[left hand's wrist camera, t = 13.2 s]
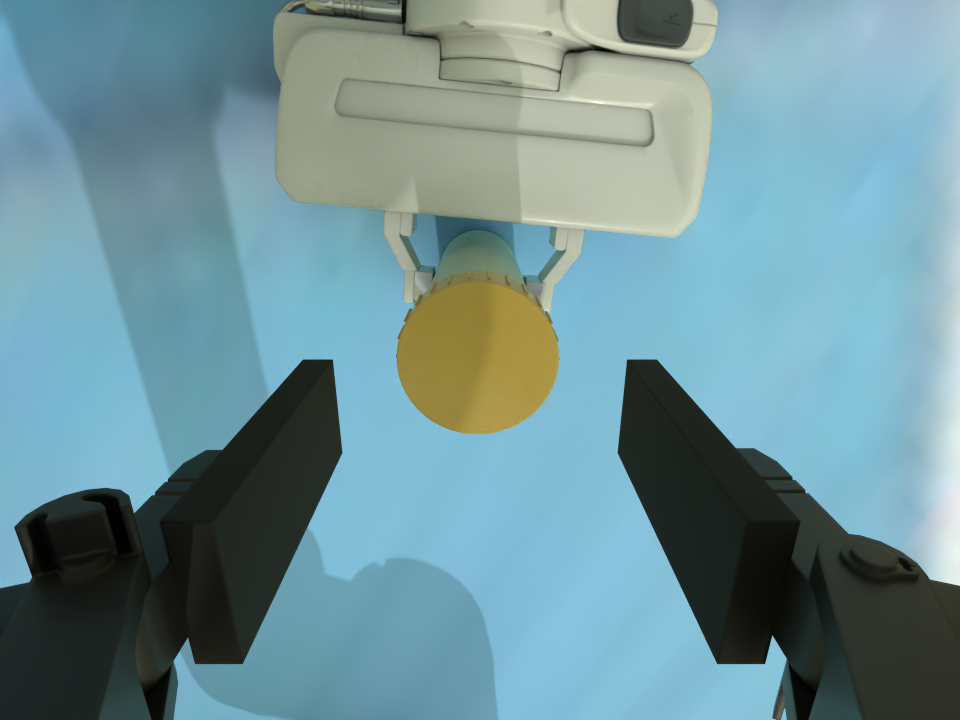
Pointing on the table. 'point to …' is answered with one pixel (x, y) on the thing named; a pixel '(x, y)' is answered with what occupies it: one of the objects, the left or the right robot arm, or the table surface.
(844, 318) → the table surface
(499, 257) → the jar
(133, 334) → the table surface
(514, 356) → the lid
